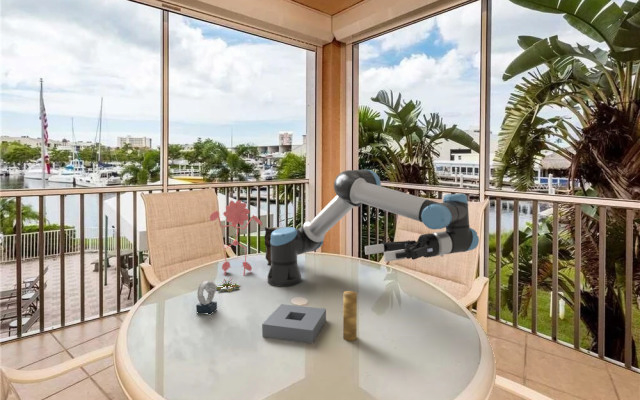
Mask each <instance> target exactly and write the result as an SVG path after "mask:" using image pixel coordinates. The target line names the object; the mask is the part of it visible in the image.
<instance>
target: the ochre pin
mask: <svg viewBox="0 0 640 400" xmlns="http://www.w3.org/2000/svg"><path fill="white" fill-rule="evenodd" d="M357 293H358V292H356V291H353V290H345V291H344V292H343V295H342V296H343V301H342V305H343V307H342V309H343V311H342V313H343V316H342V317H343V319H342V320H343V321H342V322H343V323H342V325H343V326H342V328H343V330H342V331H343V333H342V334H343V335H342V338H343V340H344V341H346V342H354V341H356V340H357V338H358V337H357V331H358V330H357V327H358V326H357V325H358V323H357V321H358V319H357V318H358V317H357V316H358V313H357V312H358V311H357V310H358V309H357V307H358V306H357V304H358V302H357V301H358V298H357V297H358V294H357Z"/></svg>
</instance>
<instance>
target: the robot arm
mask: <svg viewBox="0 0 640 400" xmlns="http://www.w3.org/2000/svg"><path fill="white" fill-rule="evenodd" d="M381 183H382V181H381V179H380V177H379V175H378V174H377V172H375V171H374V170H372V169H352V170H351V169H348V170H344V171H342V172H340V173H339V174H337V176H336V177H335V179H334V182H333V190H334V192H335V194H336V195H335V196H334V197H333V198H332V199H331V200H330V201H329V202H328V203H327V204H326V205H325V206H324V207H323V209H321V211H320V212H318V214H317V215H316V216H315V217H314V218H313V219H312V220H307V221H305V222H304V223H303V224H301V225H302V226H300V227H299V228H295V227H293V226H292V227H291V226H285V228H279V229H276V230H274V231H273V232H272V233H271V240H270V243H271V266H269V270H268V274H267V279H266V280H267V283H268V285H269V284H270V285H271V286H275V287H289V286H294V285H295V286H296V285H298V284H299V283H300V282H302V273H301V269H300V268H299V265H298V255H302V254H306V253H309V252H314V251H317V250H319V249H320V248H321V247H322V246H323V245H324V240H325V236H326V234H327V233H328V231H330V230H331V229H332V228H333V227H335V225H336V224H337V223H338V222H339V221H340V220H342V218H344V217H345V216H346V215H347V214H348V213H349V212H350V211H351V210H353V208H359V207H361V205H363V204H364V205H367V206H369V207H373V208H376V209H379V210H382V211H386V212H388V213H391V214H395V215H398V216H401V217H405V218H407V219H411V220H413V221H417V222H420V223H422V224H423V225H424V226H426V228H427V229H430V230H441V229H442V230H443V229H445V231H437V232H431V233H425V234H421V235H419V236H418V239H417V240H415V239H414V240H410V239H408V240H403V241H402V240H400V241H399V240H398V241H388V242H386V241H385V242H383V241H382V242H380V244H379V243H377V244H371V245H365V246H364V253H365V254H364V255H375V254H380V253H381V254H383V260H384V262H385V263H386V262H392V261H401V260H406V259H408V260H409V259H411V260H413V261H414V260H417V259H420V258H433V257H437V256H440V257H444V256H445V255H450V254H457V253H466V252H470V251H473V250H474V249H476V248H478V245H479V242H480V239H479V238H480V237H479V236H478V233H477V231H476V230H475V229H473V228H471V226H470V216H469V215H470V214H469V202H468V197H467V196H468V195H466V194H465V193H454V194H453V193H452V194H446V195H444V196H443V201H442V202H439V201H435V200H432V199H431V200H430V199H427V198H424V197H420V196H417V195H414V194H409V193H407V192H403V191H398V190H395V189H391V188H388V187H385V186H382V185H381Z"/></svg>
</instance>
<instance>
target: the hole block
mask: <svg viewBox="0 0 640 400" xmlns="http://www.w3.org/2000/svg"><path fill="white" fill-rule="evenodd" d="M326 321H327V309H326V308H325V307H313V306H303V305H294V304H285V303H281V304H280V305H279V306H278V307H277V308H276V309H275V310H274V311H273V312H272V313H271V314H270V315H269V317H268V318H267V319H266V320H265V321H264V322H263V323H261V324H262V325H261V327H262V329H261V332H262V335H261V336H263V337H264V338H270V339H277V340H285V341H291V340H292V342H300V343H306V344H314V342H315V340H316V339H317V337H318V335H319V333H320V332H321V329H322V328H323V326H324V325H325V323H326Z"/></svg>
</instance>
